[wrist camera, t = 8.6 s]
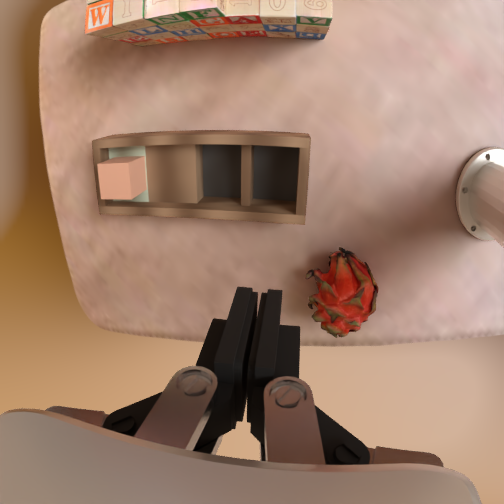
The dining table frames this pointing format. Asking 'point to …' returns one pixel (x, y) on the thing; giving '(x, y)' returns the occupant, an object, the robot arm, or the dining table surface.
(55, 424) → the robot arm
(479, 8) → the dining table surface
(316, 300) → the dragon fruit
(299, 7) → the stack of blocks
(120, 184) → the terracotta block
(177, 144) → the box
